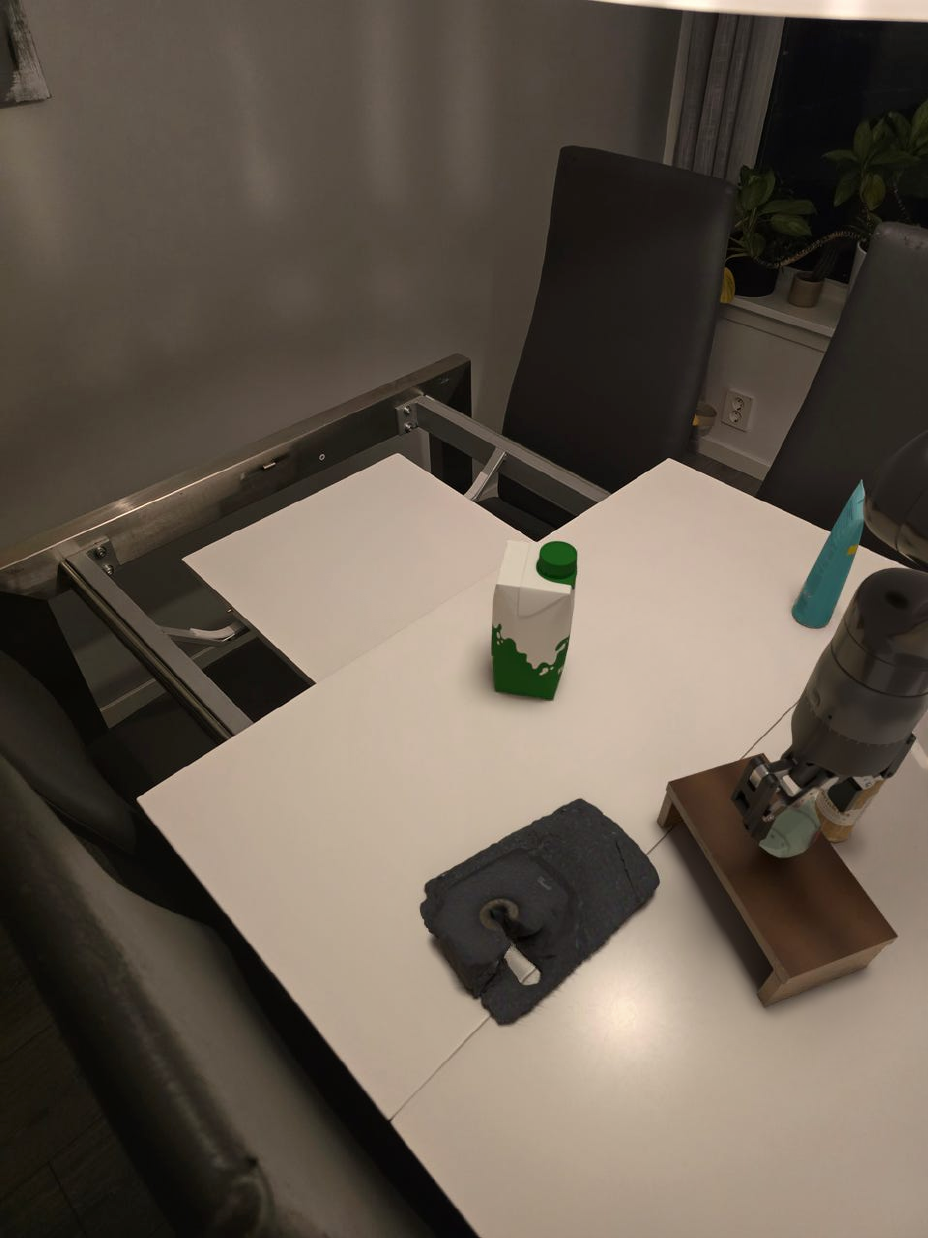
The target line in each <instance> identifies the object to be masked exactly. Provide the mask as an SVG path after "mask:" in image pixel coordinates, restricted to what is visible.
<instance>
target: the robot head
mask: <svg viewBox="0 0 928 1238" xmlns="http://www.w3.org/2000/svg"><path fill="white" fill-rule="evenodd" d="M800 790H801V789H800V788H799V787H798V789H797V790H796V791H795V792H794V793H793V794H794V795H795V794H797V793H798V792H799V791H800ZM815 800H816V797H815V795H814V796H813V797H812V798H810V799H809V800H808V801H807V802H805V803H804V804H803V805H802V806H800V807H799V808H790V807H789V808H787V809H786V810H785V811H784V812H782V813H781V814H780V815H779V816H777V817H776V820H775V822H774V824H773V825H772V827H771V829H770V831H769V833H768V835H767V837H766V839H764V840H761V841H760V844H759V846H761V847H762V848H763V849H765V850H766V851H767V852H768V853H770V854H772V855H774V856H777V857H779V858H783V857H791V856H795V855H798V854H800V853H803V852H804V851H805V850H806V849H808V848H809V847H810V846H811V845H812V844H813V843H814V842H815V841H816V839H817V838H818V836H819V834H820V830H821V824H820V821H819V819H818V816H817V813H816V811H815V808H814V805H815Z"/></svg>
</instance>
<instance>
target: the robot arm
mask: <svg viewBox="0 0 928 1238" xmlns="http://www.w3.org/2000/svg"><path fill="white" fill-rule="evenodd" d="M863 517H864V524H865V525H866V527H867V528H868V530H870V532H871V533H872V534H874V536H876V537H877V538H878V539H879V540H881V541H882V542H883V543H885V544H887V545H888V546H889V547H891V548H892V549H894V550H895V551H897V553H898V552H899V553H900V555H903V556H904V557H905V558H907V559H909V560H910V561H912V562H913V563H915V564H916V565H918V566H919V567H920V568H922V569H923V570H925V571H922V570H918V569H914V568H908V567H886V568H883V569H879V570H877V571H874V572H872V573H871V574H869V575H868V576H867V577H865V578H864V579H863V581H861V582H860V584H859V585H858V586H857V588H856V589H855V591H854V593H853V595H852V597H851V599H850V601H849V603H848V605H847V607H846V609H845V611H844V613H843V615H842V618H841V620H840V621H839V623H838V626H837V628H836V630H835V632H834V635H833V636H832V638H831V640H830V641H829V642H828V644H827V645H826V647H825V648H824V649H823V651H822V652H821V653H820V655H819V656H818V657H819V658H818V659H817V661H816V662H815V665H814V667H813V669H812V672H811V674H810V676H809V677H808V680H807V682H806V684H805V687H804V688H803V691H802V693H801V695H800V697H799V699H798V701H797V703H796V705H795V708H794V709H793V711H792V714H791V719H790V733H791V745H789V747H787V749H786V750H785V751H783V753H782V754H781V756H780V758H779V760H775V761H770V762H771V763H768V764H767V763H766V762H765V760H764V759H763V758H762V756H756V757H754V758H752V759H751V760H750V761H749V762H748V764H747V766H746V768H745V770H744V772H743V774H742V776H741V778H740V780H739V782H738V784H737V785H736V787H735V789H734V791H733V793H732V795H731V797H730V799H731V801H732V802H733V804H734V805H735V807H736V808H737V810H738V811H739V813H740V814H741V816H742V817H743V819H742V821H741V823H742V825H743V827H744V828H745V830H746V831H747V833H748V834H749V836H750V837H751V838H752V837H753V839H754V840H755V841H756V842H758V841H761V840H764V839H766V837H767V835H768V833H769V831H770V829H771V827H772V825H773V824H774V822H775V820H776V817H777V816H779V815H780V814H781V813H782V812H784V811H785V810H786V809H787V808H789V807H790V808H799V807H800V806H802V805H803V804H804V803H805V802H807V801H808V800H809V799H810V798H812V797H813V796H814V797H815V795H818V793H819V792H820V790H827V789H828V788H829V790H828V792H827V795H828V797H829V799H830V800H831V801H832V803H833V804H834V805H835V807H836V808H837V809H838V811H839V812H841V813H844V812H847V811H849V810H851V808H852V807H853V805H854V803H855V802H856V800H857V799H858V797H859V796H860V794H861V793H862V791H863V790H864V789H868V788H871V787H872V786H873V785H874V784H875V782H876V781H875V780H874V778H876V777H878V776H881V777H882V778H883V779H887V780H888V779H891V778H893V777H894V776H895V774H896V773H897V772H898V770H899V769H900V767H901V765H902V763H903V762H904V760H905V759H906V757H907V755H908V754H909V752H910V751H911V749H912V747H913V746H914V744H915V742H916V741H917V739H918V738H917V736H916V735H915V733H913V731H914V730H915V728H916V727H917V726H918V724H919V723H920V721H921V720H922V718H923V717H924V715H925V713H926V712H927V710H928V428H926V429H924V430H923V431H921V432H919V433H917V434H916V435H915V436H913V437H912V438H910V439H909V440H907V441H905V442H904V443H903V444H902V445H901V446H900V447H898V448H897V449H895V451H894V452H892V454H890V455H889V456H888V457H887V458H886V459H885V460H884V461H883V462H882V463H881V465H880V466H879V467H878V469H877V470H876V471H875V472H874V474H873V476H872V477H871V479H870V481H869V483H868V485H867V488H866V490H865V496H864V500H863ZM786 776H788V777H789V778H790V780H791V781H792V782H793V783H794V784H795V785H796V786H797V788H798V789H799V788H800V789H801V790H800V791H799V792H798V793H797V794H795V793H794V792H793V790H792V789H791V788H790V787H789V785H788V784H787V783H786V781H785V779H784V777H786ZM774 793H776V794H777V795H778V797H779V800H778V801H777V802H776V803H775V804H774V805H772V806H771V804H770V803H769V802H770V800H771V799H772V797H773V795H774ZM794 794H795V795H794Z"/></svg>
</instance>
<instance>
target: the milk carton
mask: <svg viewBox="0 0 928 1238" xmlns="http://www.w3.org/2000/svg"><path fill="white" fill-rule="evenodd" d="M578 555H579V554H578V548H577V547H575V546H574V545H573V544H571V543H569V542H566V541H563V540H562V541H561V540H552V541H548V542H546V543H542V542H539V541H529V542H528V541H521V540H514V539H507V541H506V545H505V549H504V552H503V556H502V560H501V564H500V568H499V571H498V575H497V579H496V583H495V587H494V591H493V595H492V614H491V641H490V656H491V667H492V677H493V686H494V692H496V693H497V692H498V693H504V694H509V695H515V696H516V695H517V696H520V697H521V696H523V697H529V698H534V699H542V700H547V701H554V699H555V695H556V692H557V689H558V685H559V682H560V680H561V676H562V674H563V670H564V667H565V664H566V659H567V655H568V651H569V647H570V638H571V632H572V624H573V619H574V618H573V617H574V610H575V600H576V588H577V585H576V584H577V576H578Z"/></svg>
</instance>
